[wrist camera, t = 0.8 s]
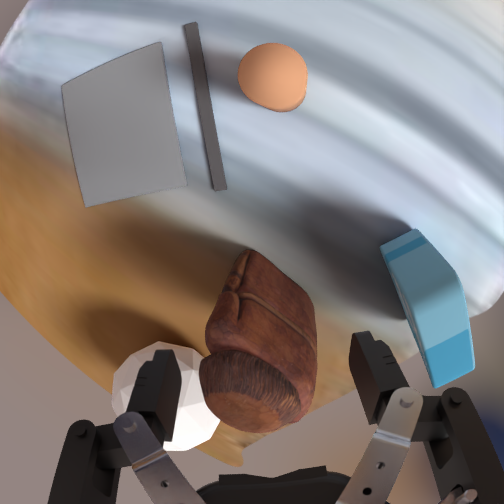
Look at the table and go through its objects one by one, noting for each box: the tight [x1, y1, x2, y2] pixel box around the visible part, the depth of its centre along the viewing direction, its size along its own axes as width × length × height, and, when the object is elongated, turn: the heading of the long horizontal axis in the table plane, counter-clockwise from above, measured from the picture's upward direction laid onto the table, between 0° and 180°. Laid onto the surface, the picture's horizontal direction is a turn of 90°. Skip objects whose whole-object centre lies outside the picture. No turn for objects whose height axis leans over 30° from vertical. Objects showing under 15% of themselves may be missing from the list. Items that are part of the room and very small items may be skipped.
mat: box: [62, 22, 227, 207], centre depth 29 cm, size 18×18×1 cm
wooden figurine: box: [199, 250, 317, 433], centre depth 27 cm, size 12×6×18 cm, turn 49°
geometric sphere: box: [111, 341, 220, 451], centre depth 35 cm, size 14×15×15 cm
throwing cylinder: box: [238, 43, 308, 112], centre depth 22 cm, size 5×5×9 cm
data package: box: [380, 229, 475, 388], centre depth 26 cm, size 12×4×12 cm, turn 31°
